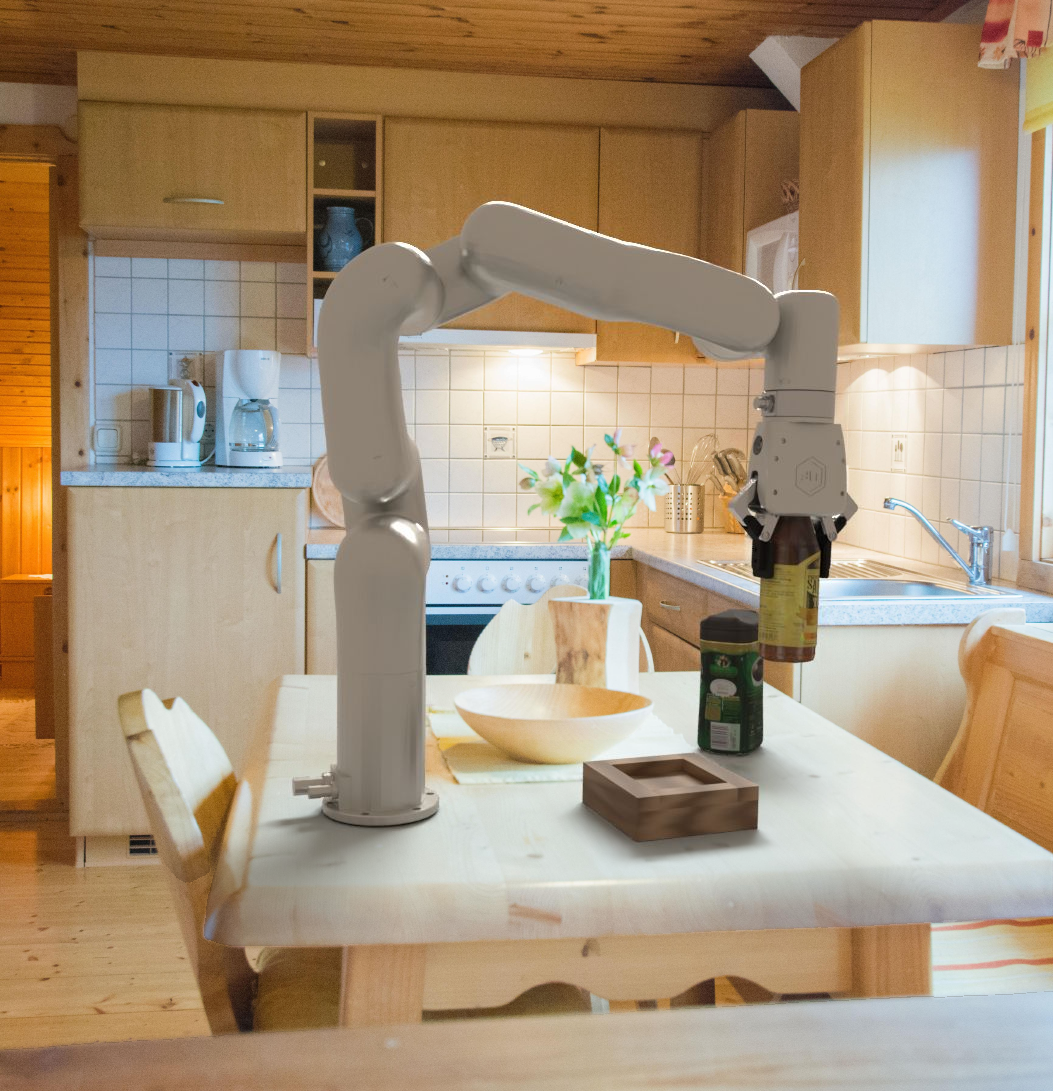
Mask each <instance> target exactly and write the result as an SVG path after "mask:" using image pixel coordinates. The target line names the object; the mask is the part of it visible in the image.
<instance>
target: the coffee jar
mask: <svg viewBox="0 0 1053 1091" xmlns="http://www.w3.org/2000/svg"><path fill="white" fill-rule="evenodd" d="M758 632H759V612H757V611H756V610H753V609H752V610H750V609H743V608H728V609H727V610H724V611H722V612H719V613H718V612H717V613H716V614H711V615H708V616H707V617H705V618H703V619H701V620H700V622H699V637H698V638H699V639H698V640H699V650H700V652H699V653H700V655H699V656H700V674H699V676H700V679H699V702H698V704H699V706H698V715H697V716H698V720H697V740H696V741H697V742H696V744H697V746H698V747H699V748H700V749H702V750H703V751H704V750H705V751H707V752H709V753H711V754H714V755H720V756H728V755H747V754H750V753H752V752H754V751H756V750H757V749H758V748H760V746H761V745H762V744H763V741H764V660H765V659H762V658H761V657H760V656H759V652H758V651H759V644H760V643H758Z"/></svg>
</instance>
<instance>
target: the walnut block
mask: <svg viewBox="0 0 1053 1091" xmlns="http://www.w3.org/2000/svg"><path fill="white" fill-rule="evenodd" d="M759 793H760V785H758V784H757V783H754V782H752V781H750V779H746V778H745V777H742V776H741V775H739V774H737V773H735V772H733V771H731V770H729V769H727V768H725V767H723V766H722V765H720V764H718V763H716V762H714V761H712V760H710V759H708V758H706V757H704V756H702V755H700V754H699V753H696V752H684V753H682V752H681V753H673V754H672V753H671V754H660V755H649V756H637V757H625V758H614V759H612V758H611V759H601V760H590V761H583V762H582V798H581V800H582V803H584V804H585V805H587V806H588V807H589V808H591V809H592V810H593V811H595V812H596V813H597V814H598V815H600V816H601V817H602V818H604V819H605V820H606V821H608V822H609V823H611V824H612V825H613V826H614V827H616V828H617V829H619V830H620V831H621V832H622V833H624V834H625V835H627V837H629V838H631V839H632V840H634V841H635V842H636V843H637V842H646V841H654V840H665V839H673V838H682V837H690V836H699V835H707V834H716V833H717V834H718V833H724V832H726V833H727V832H733V831H734V832H735V831H744V830H750V829H752V830H754V829H758V827H759V825H758V824H759V796H760V794H759Z"/></svg>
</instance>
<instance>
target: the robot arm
mask: <svg viewBox="0 0 1053 1091" xmlns="http://www.w3.org/2000/svg"><path fill="white" fill-rule="evenodd" d="M512 293H515V294H519V295H521V296H523V297H524V296H525V297H529V298H532V299H534V300H536V301H537V300H538V301H540V302H543V303H545V304H547V305H548V304H549V305H552V306H555V307H558V308H560V309H563V310H565V311H568V312H571V313H575V314H577V315H580V316H582V317H584V318H589V319H592V320H596V321H602V322H611V323H613V322H620V323H621V322H626V323H627V322H629V323H630V322H631V323H639V324H645V325H651V326H653V327H659V328H662V329H665V330H670V331H673V332H675V333H679V334H683V335H685V336H688V337H690V338H691V341H692V342H693V343H692V344H693V345H694V346H695V348H696V350H697V351H699V352H700V354H702V355H704V357H706V358H708V359H711V360H713V361H716V362H722V363H729V362H730V363H731V362H739V361H741V362H742V361H748V360H749V361H751V360H757V359H758V360H761V359H764V371H763V372H764V373H763V388H762V389H763V391H762V394H761V396H756V397H755V398H754V400H753V403H752V405H753V408H754V409H755V410H758V411H759V410H760V411H761V413H760V415H761V417H762V418H761V421H757V423H756V425H755V429H754V434H753V438H752V442H751V448H750V453H749V460H748V468H747V473H746V474H747V476H746V477H747V478H746V484H745V485H744V486H743V487H742V488H741V489H740V491H737V494H736V495H735V496H733V497H732V498H731V500H730V501H729V502H728V503H727V509H728V510H729V512H730V513H731V514H732V515H733V516H734V518H735V519H736V520H737V521H738V524H739V526H741V528H742V529H743V530H744V531H745V533H746V534H747V538H748V539H750V540H752V541H751V542H752V543H751V559H750V560H751V563H750V565H751V566H750V567H751V569H752V576H753V577H754V578H759V579H760V578H764V579H772V578H773V576H774V558H775V543H774V542H773V541H770V538H771V535H772V533H773V530H774V528H775V526H776V523H777V521H778V518H779V516H810V518H811V522H812V525H813V529H814V532H815V535H816V538H817V541H818V544H819V547H820V550H821V551H820V576H819V579H828V578H829V576H830V569H831V564H832V563H831V562H832V545H833V543H832V542H836V540H837V539H838V534H839V533H840V532H841V531H842V530H843V529H844V528H845V527H846V526H847V523H848V521H850V520H851V518H852V517H853V516H854V515H855V514H856V513H857V512H858V509H859V506H858V504H857V503H856V501H855V500H854V499H853V498H852V496H850V494H849V493H848V491H847V488H848V487H847V486H848V484H847V481H848V477H847V457H846V447H845V446H846V445H845V440H844V439H845V438H844V433H843V428H842V424H841V423H835V414H836V413H835V412H836V397H837V396H836V395H837V394H836V391H837V374H838V372H837V371H838V350H839V334H840V333H839V332H840V316H841V315H840V302H839V299H838V298H837V297H836V296H835V295H834V294H832V293H829V292H827V291H821V290H811V289H810V290H809V289H808V290H804V289H802V290H788V291H783V292H779V293H776V294H775V295H774V294H773V293H772V291H771V290H770V289H769V288H768V287H767V286H765V285H764V284H762V283H761V282H759V281H758V280H756V279H754V278H751V277H750V276H746V275H744V274H741V273H739V272H735V271H733V270H730V269H727V268H725V267H722V266H718V265H715V264H713V263H710V262H707V261H705V260H701V259H698V258H696V257H695V258H694V257H691V256H688V255H683V254H680V253H677V252H676V253H675V252H671V251H667V250H662V249H657V248H653V247H649V246H646V245H643V244H642V245H641V244H638V243H633V242H627V241H622V240H620V239H617V238H613V237H610V236H607V235H604V234H601V233H599V232H598V233H597V232H595V231H592V230H589V229H586V228H583V227H579V226H577V225H574V224H572V223H568V222H567V221H563V220H561V219H558V218H554V217H552V216H549V215H546V214H544V213H541V212H538V211H535V210H532V209H529V208H527V207H524V206H521V205H518V204H515V203H511V202H507V201H498V200H497V201H489V202H486V203H483V204H481V205H479V206H478V207H477V208H475V209H474V210H473V211H472V212H471V213H470V214H469V216H468V217H467V218H466V220H465V222H464V224H463V226H462V228H461V232H460V234H457V235H456V236H453V237H451V238H449V239H447V240H444V241H443V242H441V243H438V244H436V245H434V246H432V247H429V248H427V249H424V250H423V251H421V250H420V249H418V248H417V247H414V246H413V245H410V244H408V243H405V242H401V241H399V242H398V241H388V242H383V243H382V242H381V243H379V244H375V245H373V246H370V247H369V248H367V249H366V250H364V251H362V252H360V253H359V254H357V255H356V256H355V257H353V258H352V259H351V260H350V261H348V263H346V264H345V265H344V266H343V267H342V268H341V269H340V270H339V272H337V274H336V276H335V277H334V278H333V280H332V281H331V283H330V285H329V287H328V289H327V290H326V293H325V295H324V298H323V299H322V300H323V301H322V303H321V307H320V310H319V315H318V318H317V319H318V321H317V328H316V351H317V363H318V371H319V372H318V374H319V381H320V382H319V384H320V395H321V396H320V398H321V407H322V409H321V410H322V416H323V426H324V434H325V445H326V448H325V449H326V456H327V457H326V461H327V464H326V465H327V471H328V474H329V478H330V480H331V482H332V484H333V485H334V488H335V489H336V490H337V491H338V492H339V494H340V496H341V504H342V511H343V512H342V513H343V521H344V526H345V528H344V529H345V536H344V537H343V538H342V540H341V542H340V544H339V545H338V548H337V551H336V553H335V554H336V555H335V559H334V564H333V593H334V595H333V596H334V607H335V621H336V622H335V625H336V627H335V630H336V763H334V764H329V766H330V769H329V771H328V772H327V771H326V772H322V773H321V775H320V776H313V777H311V776H300V777H292V782H291V784H292V785H291V789H292V795H293V797H297V796H307V797H308V800H314V799H322V800H321V805H322V812H323V814H324V815H326V816H327V817H329V818H330V819H332V820H334V821H336V822H341V823H345V824H349V825H356V826H373V827H374V826H375V827H378V826H379V827H380V826H381V827H384V826H395V825H396V826H397V825H402V824H410V823H414V822H417V821H421V820H423V819H427V818H428V817H431V816H433V815H434V814H435V813H437V812H438V810H439V808H440V797H439V794H438V793H437V792H436V791H435V790H432V789H431V788H428V787H426V725H427V724H426V723H427V721H426V718H427V717H426V716H427V714H426V713H427V712H426V711H427V706H426V705H427V698H426V696H427V665H426V664H427V655H426V654H427V626H426V625H427V624H426V623H427V619H426V618H427V613H426V609H427V606H426V601H427V600H426V597H427V595H426V594H427V592H426V591H427V590H426V589H427V575H428V573H429V569H430V566H431V560H432V547H431V546H432V545H431V538H430V536H431V535H430V528H429V522H428V520H429V519H428V514H427V513H428V510H427V502H426V496H425V495H426V494H425V488H424V487H425V486H424V479H423V469H422V463H421V456H420V451H419V448H418V446H417V444H416V442H415V440H414V438H413V436H412V435H411V433H409V432H408V427H407V421H406V415H405V407H404V400H403V389H402V388H403V387H402V385H403V384H402V375H401V368H400V362H399V341H400V337H414V336H418V335H422V334H424V333H425V334H426V333H428V332H430V331H432V330H434V329H438V328H439V327H441V326H443V325H447V324H448V323H450V322H452V321H454V320H457V319H459V318H461V317H463V316H465V315H468V314H471V313H473V312H474V311H477V310H480V309H482V308H484V307H487V306H488V305H491V304H493V303H494V302H496V301H498V300H500V299H502V298H505V297H506V296H508V295H510V294H512ZM750 511H751V512H752V513H755V514H754V515H752V514H751V512H750Z"/></svg>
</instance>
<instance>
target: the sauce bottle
mask: <svg viewBox="0 0 1053 1091" xmlns="http://www.w3.org/2000/svg"><path fill="white" fill-rule="evenodd" d="M770 541H773V542H774V543H775V558H774V576H773V578H772V579H764V578H759V581H760V582H759V602H758V603H759V604H758V605H759V607H758V608H759V609H758V610H759V611H758V614H759V632H758V643H760V644H759V651H758V652H759V656H760V657H761V658H762V659H764V660H765V661H768V662H769V661H770V662H774V663H788V664H799V663H800V664H801V663H810V662H811V661H814V659H815V657H816V648H817V645H818V626H819V625H818V624H819V623H818V621H819V604H820V602H819V601H820V600H819V599H820V579H821V578H819V576H820V551H821V550H820V547H819V544H818V541H817V538H816V535H815V532H814V529H813V525H812V522H811V518H810V516H779V518H778V521H777V523H776V526H775V528H774V530H773V533H772V535H771V538H770Z"/></svg>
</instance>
